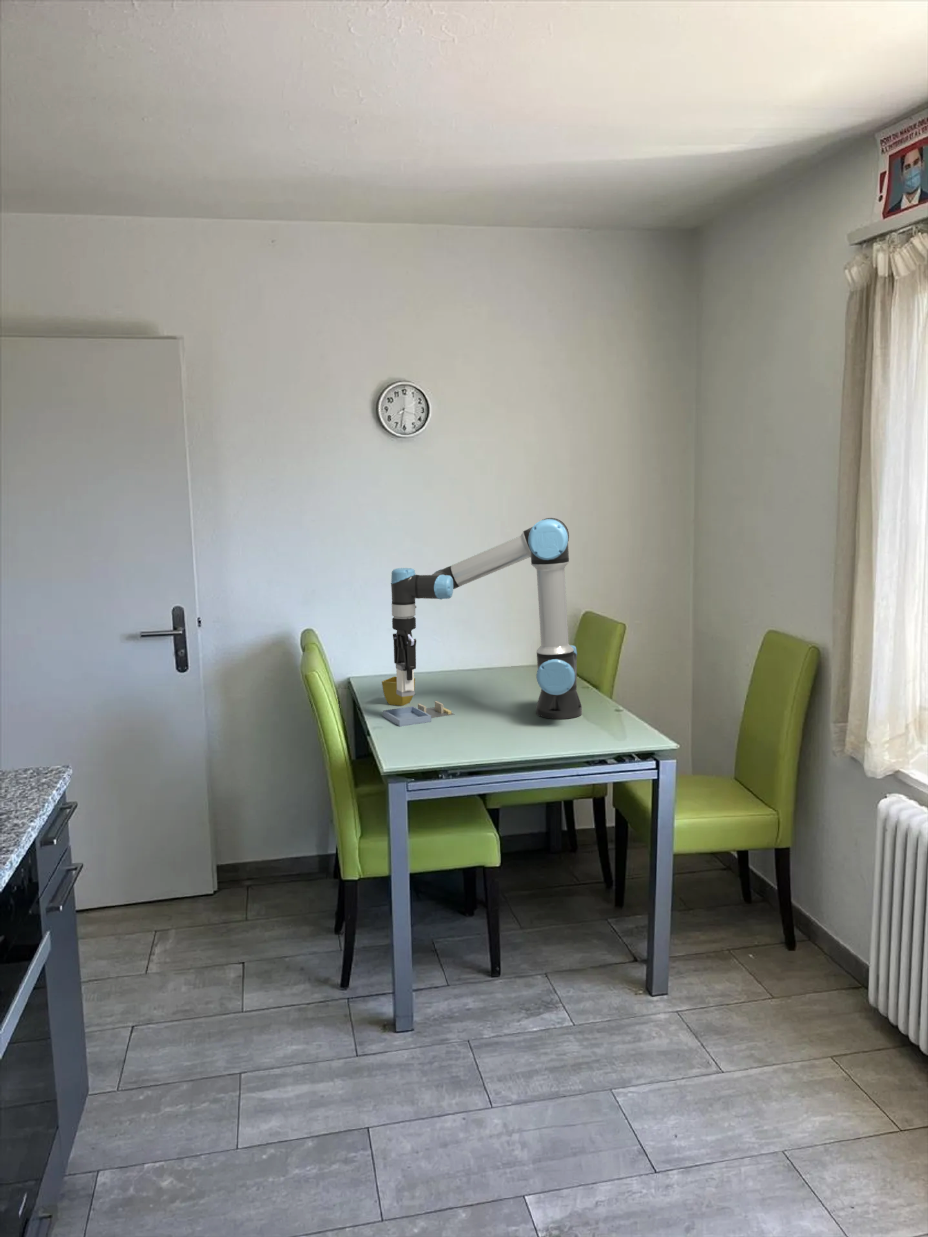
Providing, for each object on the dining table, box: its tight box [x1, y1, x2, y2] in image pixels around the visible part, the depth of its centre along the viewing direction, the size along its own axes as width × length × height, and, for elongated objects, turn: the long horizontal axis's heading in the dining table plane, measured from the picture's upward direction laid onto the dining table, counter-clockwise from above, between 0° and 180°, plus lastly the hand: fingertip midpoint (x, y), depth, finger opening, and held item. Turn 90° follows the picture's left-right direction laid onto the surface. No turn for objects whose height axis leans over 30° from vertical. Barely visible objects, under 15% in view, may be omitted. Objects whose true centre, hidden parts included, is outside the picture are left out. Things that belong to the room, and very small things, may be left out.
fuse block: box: [417, 700, 455, 719], centre depth 303 cm, size 12×10×4 cm
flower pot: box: [381, 676, 416, 707], centre depth 315 cm, size 9×9×9 cm
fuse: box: [395, 663, 416, 697], centre depth 293 cm, size 4×4×10 cm
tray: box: [382, 705, 432, 727], centre depth 295 cm, size 14×11×2 cm
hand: (405, 687), depth 294 cm, fingers closed on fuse, 4 cm apart
